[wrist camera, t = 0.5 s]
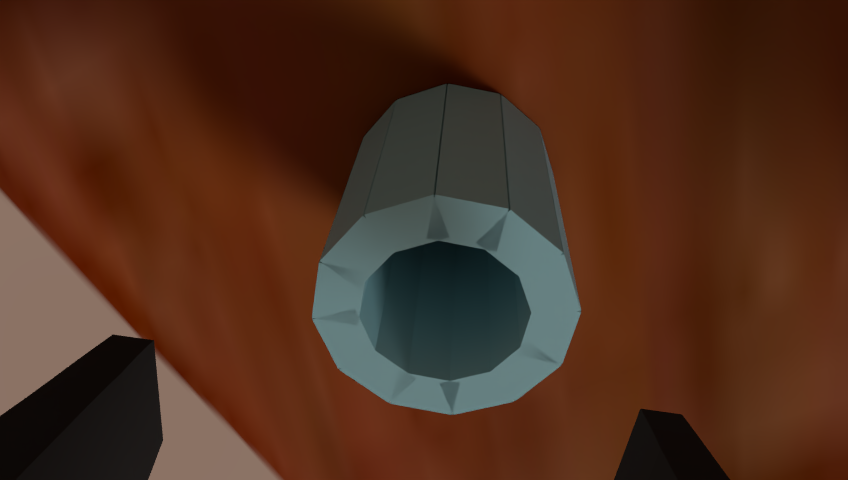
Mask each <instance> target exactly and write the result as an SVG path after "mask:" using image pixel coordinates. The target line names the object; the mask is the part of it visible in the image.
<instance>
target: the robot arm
mask: <svg viewBox="0 0 848 480" xmlns="http://www.w3.org/2000/svg"><path fill="white" fill-rule="evenodd" d="M162 441H163V435H162V425H161V414H160V402H159V391H158V381H157V370H156V359H155V348H154V340H148V339H141V338H133V337H126V336H119V335H112V336H110V337H109V338H108V339H106V340H105V341H103V342H102V343H100V344H99V345H98V346H96V347H95V348H93V349H92V350H91V351H89V352H88V353H87V354H85V355H84V356H82V357H81V358H80V359H78V360H77V361H76V362H74V363H73V364H71V365H70V366H69V367H67V368H66V369H65V370H63V371H62V372H61V373H59V374H58V375H57V376H55V377H54V378H53V379H51V380H50V381H49V382H47V383H46V384H45V385H43V386H42V387H40V388H39V389H38V390H36V391H35V392H33V393H32V394H31V395H29V396H28V397H27V398H25V399H24V400H22V401H21V402H19V403H18V404H17V405H15V406H14V407H12V408H11V409H9V410H8V411H7V412H5V413H4V414H2V415H1V416H0V480H148V478H149V476H150V473H151V470H152V468H153V465H154V463H155V460H156V457H157V454H158V452H159V449H160V447H161V444H162ZM614 480H730V479H729V478H728V476H727V475H726V474H725V472H724V471H723V470H722V468H721V467H720V465H719V464H718V463H717V461H716V460H715V459H714V457H713V456H712V455H711V453H710V452H709V450H708V449H707V448H706V446H705V445H704V444H703V442H702V441H701V440H700V438H699V437H698V435H697V434H696V433H695V431H694V430H693V429H692V427H691V426H690V425H689V423H688V422H687V421H686V419H685V418H684V417H683V415H681V414H674V413H667V412H660V411H653V410H646V409H640V411H639V414H638V417H637V420H636V422H635V425H634V428H633V430H632V433H631V436H630V438H629V441H628V444H627V446H626V449H625V452H624V455H623V457H622V460H621V463H620V465H619V468H618V471H617V473H616V476H615V479H614Z"/></svg>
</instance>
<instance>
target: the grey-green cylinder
mask: <svg viewBox="0 0 848 480" xmlns="http://www.w3.org/2000/svg"><path fill="white" fill-rule="evenodd" d="M580 314H581V307H580V302H579V298H578V293H577V288H576V283H575V278H574V273H573V268H572V263H571V259H570V254H569V249H568V244H567V239H566V234H565V229H564V225H563V220H562V215H561V210H560V205H559V200H558V195H557V191H556V186H555V181H554V176H553V172H552V168H551V165H550V162H549V158H548V155H547V151H546V148H545V145H544V141H543V138H542V134H541V131H540V129H539V127H538V126H537V125H535V124H534V123H533V122H532V121H531V120H530V119H529V118H528V117H526V116H525V115H524V114H523V113H522V112H521V111H520V110H518V109H517V108H516V107H515V106H514V105H513V104H512V103H510V102H509V101H508V100H507V99H506V98H505V97H504V96H502V95H500V94H498V93H493V92H488V91H483V90H478V89H473V88H468V87H463V86H458V85H453V84H448V86H447V84H444V85H440V86H437V87H434V88H431V89H428V90H425V91H422V92H419V93H416V94H413V95H410V96H406V97H403V98H400V99H397V101H395V102H394V103H393V104H392V105H391V106H390V107H389V109H388V110H387V111H386V112H385V113H384V114H383V115H382V117H381V118H380V119H379V120H378V121H377V122H376V123H375V125H374V126H373V127H372V128H371V129H370V130H369V131H368V132H367V134H366V135H365V136H364V138H363V140H362V143H361V146H360V148H359V151H358V154H357V157H356V160H355V163H354V165H353V168H352V171H351V174H350V177H349V180H348V182H347V185H346V188H345V191H344V194H343V196H342V199H341V202H340V205H339V208H338V211H337V213H336V216H335V219H334V222H333V225H332V227H331V230H330V233H329V236H328V239H327V242H326V244H325V247H324V250H323V253H322V256H321V259H320V261H319V267H318V275H317V282H316V290H315V298H314V306H313V314H312V318H313V319H312V320H313V322H314V323H315V325H316V327H317V329H318V331H319V333H320V335H321V337H322V339H323V341H324V342H325V344H326V346H327V348H328V350H329V352H330V354H331V356H332V358H333V360H334V362H335V363H336V365H337V367H338V369H339V368H340V369H339V370H340V371H342V372H343V373H345V374H346V375H348V376H349V377H351V378H352V379H354V380H355V381H357V382H358V383H360V384H361V385H363V386H364V387H366V388H367V389H369V390H370V391H372V392H373V393H375V394H376V395H378V396H379V397H381V398H382V399H384V400H385V401H387V402H388V403H389V402H390V401H391V403H390V404H395V405H401V406H406V407H412V408H417V409H423V410H428V411H434V412H439V413H445V414H450V415H452V413H453V415H454V414H459V413H464V412H468V411H473V410H478V409H482V408H487V407H492V406H496V405H501V404H505V403H510V402H513V400H514V401H516V400H517V399H518V398H520V397H521V396H522V395H523V394H525V393H526V392H527V391H529V390H530V389H531V388H533V387H534V386H535V385H536V384H538V383H539V382H540V381H542V380H543V379H544V378H545V377H547V376H548V375H549V374H551V373H552V372H553V371H555V370H556V369H557V368H558V367H560V366H561V364H562V363H563V360H564V357H565V355H566V352H567V349H568V347H569V344H570V341H571V338H572V336H573V333H574V330H575V328H576V325H577V322H578V319H579V317H580Z"/></svg>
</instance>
